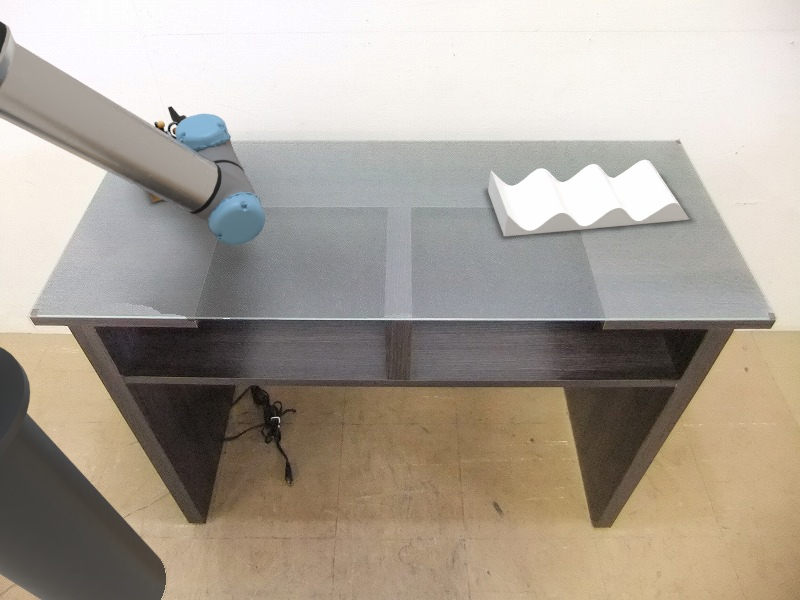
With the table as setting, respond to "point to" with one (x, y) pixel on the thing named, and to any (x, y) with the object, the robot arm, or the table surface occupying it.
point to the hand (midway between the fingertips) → (154, 118)
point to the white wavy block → (583, 200)
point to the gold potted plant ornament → (161, 126)
